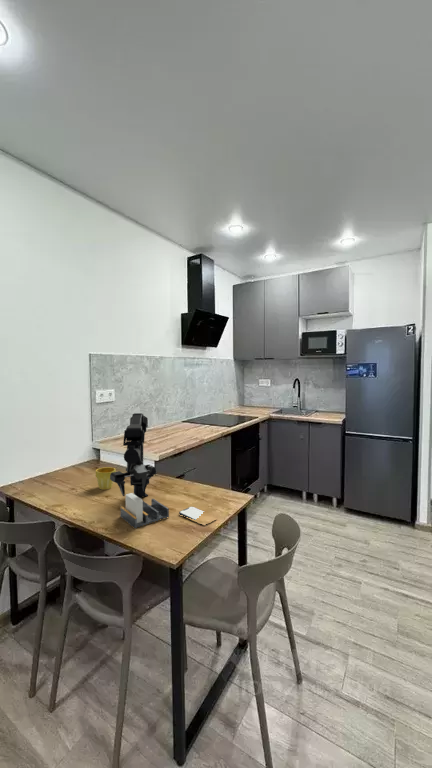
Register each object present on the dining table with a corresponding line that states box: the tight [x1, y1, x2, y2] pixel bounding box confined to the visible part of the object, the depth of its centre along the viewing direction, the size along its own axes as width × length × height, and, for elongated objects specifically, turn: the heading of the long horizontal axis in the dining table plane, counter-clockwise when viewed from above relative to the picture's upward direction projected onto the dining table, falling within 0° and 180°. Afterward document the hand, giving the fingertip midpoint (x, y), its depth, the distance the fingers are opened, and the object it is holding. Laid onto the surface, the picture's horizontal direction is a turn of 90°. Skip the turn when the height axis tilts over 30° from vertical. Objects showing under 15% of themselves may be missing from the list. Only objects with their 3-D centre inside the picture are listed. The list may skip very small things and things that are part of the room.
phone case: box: [178, 506, 205, 520], centre depth 140 cm, size 9×2×16 cm
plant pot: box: [95, 466, 117, 491], centre depth 173 cm, size 10×10×10 cm
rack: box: [119, 498, 170, 529], centre depth 139 cm, size 14×16×4 cm
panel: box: [125, 492, 144, 523], centre depth 135 cm, size 10×3×9 cm, turn 40°
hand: (133, 493), depth 135 cm, fingers open, 9 cm apart
